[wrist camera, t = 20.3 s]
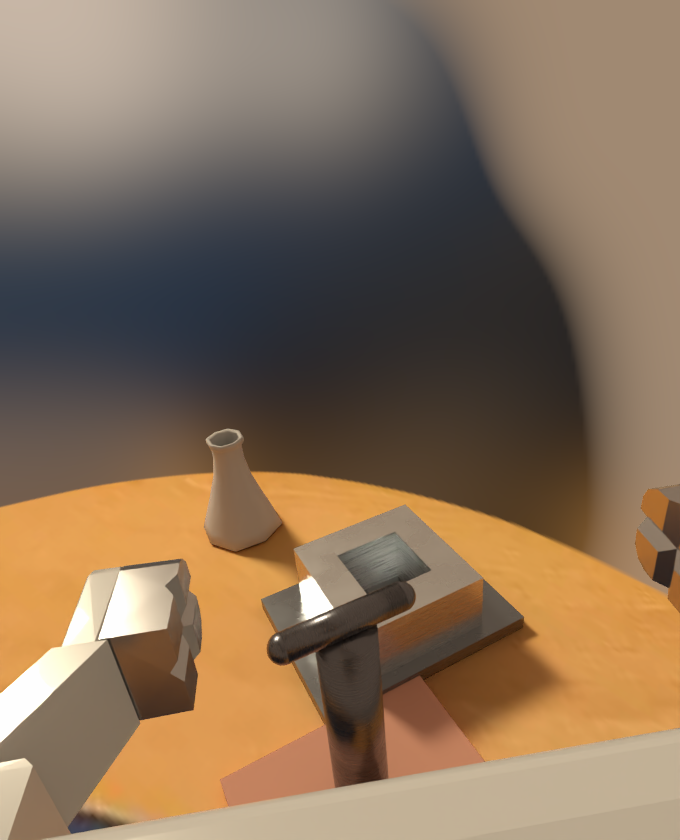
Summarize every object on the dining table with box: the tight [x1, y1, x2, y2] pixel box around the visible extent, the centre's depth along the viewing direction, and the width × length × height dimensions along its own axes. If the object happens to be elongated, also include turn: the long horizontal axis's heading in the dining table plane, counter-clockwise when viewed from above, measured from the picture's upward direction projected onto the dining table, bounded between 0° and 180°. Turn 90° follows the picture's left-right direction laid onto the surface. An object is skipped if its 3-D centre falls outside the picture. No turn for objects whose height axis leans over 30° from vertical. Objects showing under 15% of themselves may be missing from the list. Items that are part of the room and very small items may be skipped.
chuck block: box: [261, 505, 524, 725], centre depth 44 cm, size 16×12×6 cm
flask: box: [204, 429, 282, 552], centre depth 55 cm, size 7×7×10 cm
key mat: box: [220, 675, 485, 806], centre depth 33 cm, size 14×10×1 cm
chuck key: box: [267, 581, 416, 788], centre depth 30 cm, size 7×3×14 cm, turn 116°
